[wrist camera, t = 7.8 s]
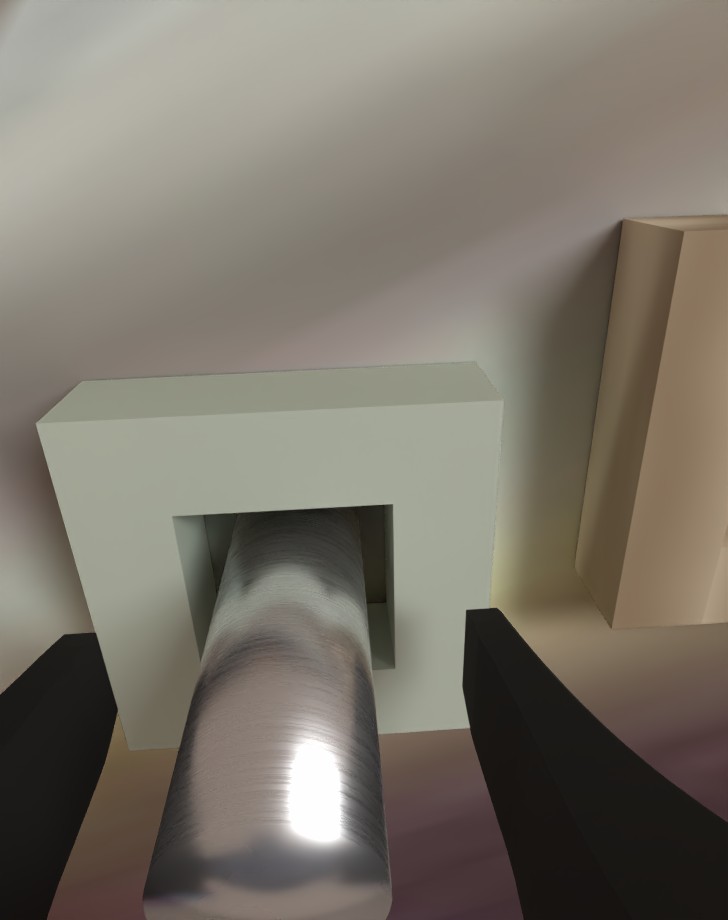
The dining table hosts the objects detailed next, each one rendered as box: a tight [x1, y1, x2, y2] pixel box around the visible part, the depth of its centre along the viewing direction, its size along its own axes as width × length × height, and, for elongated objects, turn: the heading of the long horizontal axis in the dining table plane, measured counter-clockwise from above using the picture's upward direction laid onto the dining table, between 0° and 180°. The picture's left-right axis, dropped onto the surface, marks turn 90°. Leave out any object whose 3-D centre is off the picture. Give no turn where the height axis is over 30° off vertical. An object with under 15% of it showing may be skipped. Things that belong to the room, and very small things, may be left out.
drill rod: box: [143, 506, 392, 920], centre depth 12 cm, size 3×3×9 cm
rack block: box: [36, 362, 504, 751], centre depth 15 cm, size 9×9×2 cm
